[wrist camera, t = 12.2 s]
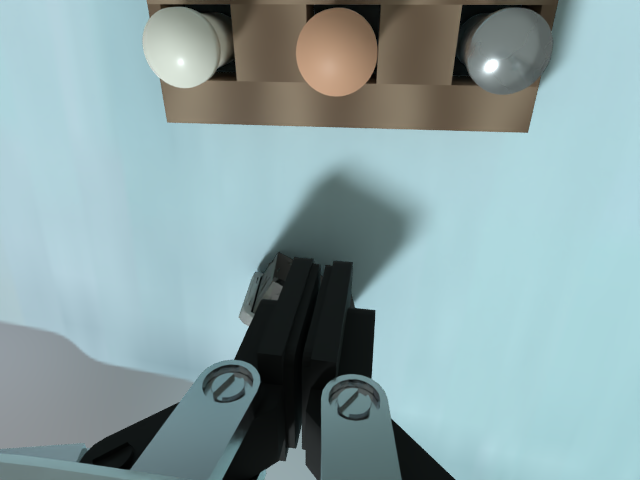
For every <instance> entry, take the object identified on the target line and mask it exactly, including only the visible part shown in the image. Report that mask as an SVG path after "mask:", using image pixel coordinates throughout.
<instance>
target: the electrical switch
mask: <svg viewBox="0 0 640 480" xmlns="http://www.w3.org/2000/svg"><path fill="white" fill-rule="evenodd" d="M292 262H293V260H292V259H291V258H289V257H287V256H285V255H283V254H282V253H280V252H278V253H277V255H276V256H275V258H274V260H273V261H272V263H269V266H268V268H267V270H266V271H265V273H264V274H263V273H261V272H255V273H254V275H253V277H252V279H251V282H250V285H249V288H248V291H247V294H246V297H245V300H244V303H243V306H242V308H241V311H240V314H239V318H240V320H241V321H242V322H243V323H244V324H246V325H248V326H250V323H251V321H252V319H253V317H254V314H255V312H256V310H257V308H258V305H259V303H260V301H261V300H262V299H270V300H278V298H279V295H280V293H281V290H282V287H283V285H284V282H285V280H286V277H287V275H288V272H289V270H290V267H291V264H292ZM279 268H280V269H279ZM278 269H279V270H278ZM322 278H323V276H322V275H321V281H320V286H321V282H322ZM350 308H355V306H354V302H353V299H352V295H351V302H350Z"/></svg>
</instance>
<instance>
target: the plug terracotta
mask: <svg viewBox="0 0 640 480" xmlns="http://www.w3.org/2000/svg"><path fill="white" fill-rule="evenodd" d="M296 60H297V65H298V68H299V71H300V73H301V75H302V76H303V78H304V80H305V81H306V82H307V83H308V84H309V85H310V86H311V87H312V88H313V89H315V90H316V91H318V92H320V93H322V94H324V95H328V96H345V95H348V94H351V93H353V92H355V91H357V90H358V89H360V88H361V87H362V86H363V85H364V84H365V83H366V82H367V81H368V80H369V78H370V77H371V75H372V73H373V71H374V69H375V66H376V62H377V41H376V37H375V34H374V31H373V29H372V28H371V26H370V24H369V23H368V22H367V21H366V20H365V18H364V17H362V16H361V15H360V14H358V13H357V12H355V11H352V10H350V9H346V8H331V9H327V10H324V11H321V12H319V13H318V14H316V15H314V16H313V17H312V18H311V19H310V20H309V21H308V22H307V23H306V24H305V26H304V27H303V29H302V30H301V32H300V35H299V37H298V41H297V46H296Z"/></svg>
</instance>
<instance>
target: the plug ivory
mask: <svg viewBox="0 0 640 480" xmlns="http://www.w3.org/2000/svg"><path fill="white" fill-rule="evenodd" d="M143 50H144V54H145V57H146V60H147V62H148V64H149V65H150V67H151V69H152V70H153V71H154V73H155V74H156V75H157V76H158V77H159V78H160V79H162V80H163V81H164V82H166V83H168V84H170V85H172V86H175V87H179V88H191V87H195V86H198V85H200V84H202V83H204V82H206V81H207V80H209V79H210V78H211V77H212V76H213V75H214V73H215V72H216V70H217V68H219V67H222V66H224V65H226V64H228V63H230V62H232V61H233V60H234V59H235V53H234V41H233V30H232V19H231V18H230V17H229V16H227V15H225V14H223V13H220V12H207V13H199V12H197V11H195V10H193V9H190V8H186V7H168V8H164V9H161V10H159V11H157V12H156V13H154V14H153V15H152V16H151V17H150V19H149V20H148V22H147V23H146V26H145V28H144V32H143Z"/></svg>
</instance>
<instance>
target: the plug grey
mask: <svg viewBox="0 0 640 480" xmlns="http://www.w3.org/2000/svg"><path fill="white" fill-rule="evenodd" d="M552 49H553V38H552V33H551V30H550V27H549V25H548V23H547V22H546V21H545V19H544V18H543V17H542V16H541V15H539V14H538V13H536V12H534V11H532V10H529V9H525V8H505V9H501V10H498V11H495V12H493V13H480V14H477V15H474V16H472V17H471V18H469V19H468V20H467V21H466V22H465V23H464V24H463V25H462V26H461V28H460V29H459V32H458V39H457V46H456V54H457V57H458V59H459V60H460V61H461V62H462V63H463V64H464V65H465V66H466V68H467V71H468V73H469V75H470V77H471V78H472V80H473V81H474V82H475V83H476V84H477V85H479V86H480V87H481V88H482V89H484V90H486V91H487V92H490V93H493V94H499V95H507V94H513V93H516V92H519V91H521V90H523V89H525V88H527V87H528V86H530V85H531V84H533V83H534V82H535V81H536V80H537V79H538V78H539V77H540V76H541V74H542V73H543V72H544V70H545V69H546V67H547V65H548V63H549V60H550V58H551V54H552Z"/></svg>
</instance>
